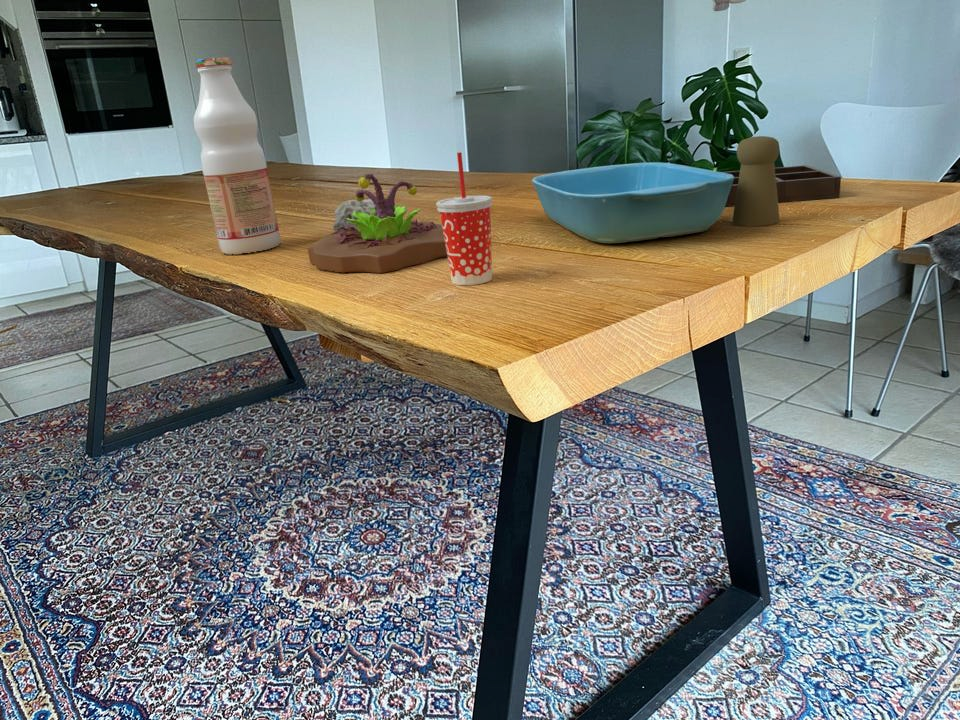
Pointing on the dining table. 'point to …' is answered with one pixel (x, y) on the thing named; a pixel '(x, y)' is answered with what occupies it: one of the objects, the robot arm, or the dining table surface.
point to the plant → (379, 237)
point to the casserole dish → (634, 200)
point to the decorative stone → (351, 212)
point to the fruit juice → (233, 163)
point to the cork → (757, 183)
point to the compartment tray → (797, 184)
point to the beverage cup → (467, 235)
